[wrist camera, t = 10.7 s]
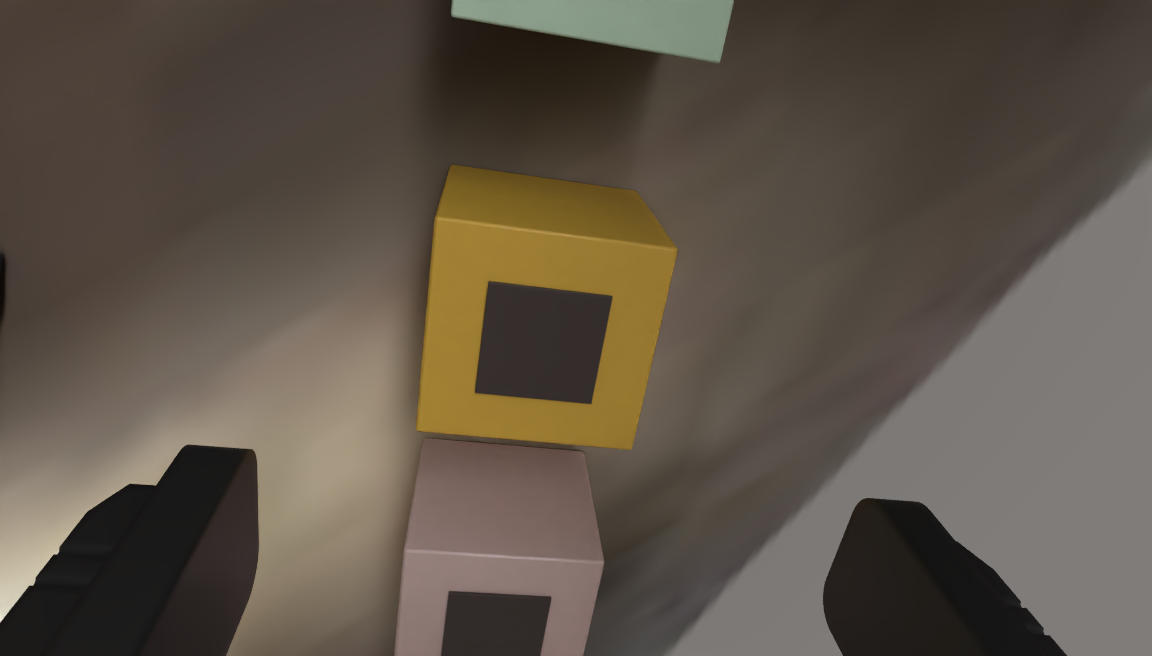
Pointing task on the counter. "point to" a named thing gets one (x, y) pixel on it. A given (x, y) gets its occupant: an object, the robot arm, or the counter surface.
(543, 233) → the mustard block
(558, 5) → the sage block
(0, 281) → the small box
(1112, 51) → the counter surface
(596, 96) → the counter surface
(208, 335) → the counter surface
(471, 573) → the blush block
